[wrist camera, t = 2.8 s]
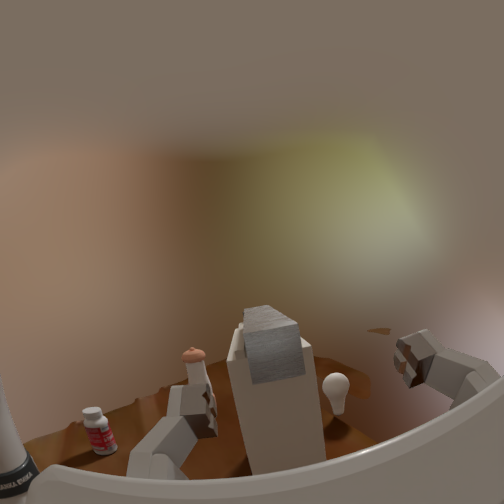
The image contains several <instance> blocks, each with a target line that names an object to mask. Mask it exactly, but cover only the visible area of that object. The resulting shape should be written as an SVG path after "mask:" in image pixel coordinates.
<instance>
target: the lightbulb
mask: <svg viewBox="0 0 504 504" xmlns="http://www.w3.org/2000/svg"><path fill="white" fill-rule="evenodd" d="M322 388H323V392H324V393H325V394H326V396H327V397H328V398H329V400H330V403H331V406H332V408H333V413H334V414H335V415H338V416H339V415H341V414H342V413H343V412H344V404H345V396H346V394H347V392H348V389H349V381H348V379H347V377H346V376H345V375H343V374H341V373H333V374H330V375H329V376H327V377H326V378H325V380H324V382H323V386H322Z"/></svg>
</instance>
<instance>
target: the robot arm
mask: <svg viewBox="0 0 504 504" xmlns="http://www.w3.org/2000/svg"><path fill="white" fill-rule="evenodd" d="M396 346H397V348H398V349H397V351H396V352H395V353H394V365H395V367H396V369H397V371H398V372H399V373H401V374H403V380H404V381H405V383H406V385H407V386H408V387H409V389H410V388H413V387H415V386H417V385H420V384H422V383H425V384H427V385H428V386H430V387H432V388H434V389H435V390H437V391H439V392H441V393H443V394H444V395H446V396H448V397H450V398H452V399H453V400H454V401H453V403H452V405H451V406H450V409H449V411H448V412H446V413H444V414H443V415H441V416H439V417H437V418H435V419H433V420H431V421H429V422H427V423H425V424H423V425H421V426H419V427H417V428H415V429H413V430H411V431H408V432H406V433H404V434H402V435H399V436H397V437H395V438H392V439H390V440H387V441H385V442H382V443H380V444H377V445H374V446H372V447H369V448H366V449H363V450H360V451H357V452H354V453H351V454H348V455H345V456H342V457H338V458H335V459H331V460H328V461H324V462H320V463H316V464H312V465H308V466H304V467H299V468H295V469H290V470H285V471H279V472H273V473H267V474H261V475H254V476H245V477H236V478H225V479H209V480H189V479H188V478H187V477H186V476H185V475H184V474H183V472H182V471H181V470H180V469H179V468H180V467H181V465H182V464H183V462H184V461H185V459H186V457H187V456H188V454H189V453H190V451H191V450H192V448H193V447H194V445H195V444H196V442H197V441H198V440H197V439H203V438H213V437H218V435H217V423H216V420H215V418H216V416H217V408H216V403H215V399H214V396H213V395H212V394H210V387H209V384H208V383H204V384H192V385H181V386H172V387H171V389H170V395H169V402H168V409H167V417H163V418H162V419H161V420H160V421H159V422H158V423H157V424H156V425H155V426H154V427H153V429H152V430H151V431H150V432H149V433H148V434H147V435H146V436H145V437H144V438H143V439H142V440H141V441H140V442H139V444H138V445H137V446H136V447H135V448H134V449H133V450H132V451H131V452H130V457H129V463H128V469H127V475H126V477H122V476H114V475H107V474H101V473H95V472H89V471H84V470H79V469H75V468H70V467H66V466H62V465H56V464H55V465H51V466H49V467H48V468H46V469H45V470H44V471H43V472H41V473H40V472H39V470H38V468H37V466H36V464H35V462H34V460H33V459H32V457H31V456H30V454H29V452H28V451H26V449H25V448H24V446H23V444H22V442H21V439H20V437H19V435H18V432H17V430H16V427H15V425H14V422H13V419H12V417H11V414H10V411H9V408H8V405H7V402H6V398H5V394H4V389H3V385H2V380H1V375H0V504H504V375H503V376H502V377H501V376H500V375H499V374H498V373H497V372H496V371H495V370H494V368H493V367H492V366H491V365H490V364H489V363H488V362H487V361H484V360H481V359H478V358H475V357H472V356H469V355H467V354H464V353H461V352H458V351H455V350H452V349H449V348H447V349H445V347H444V346H443V345H442V344H441V343H440V342H439V341H438V340H437V339H436V338H435V336H434V335H433V334H432V333H431V332H430V331H429V330H428V329H424V330H421V331H419V332H417V333H413V334H411V335H408V336H405V337H403V338H400V339H398V341H397V344H396Z"/></svg>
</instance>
